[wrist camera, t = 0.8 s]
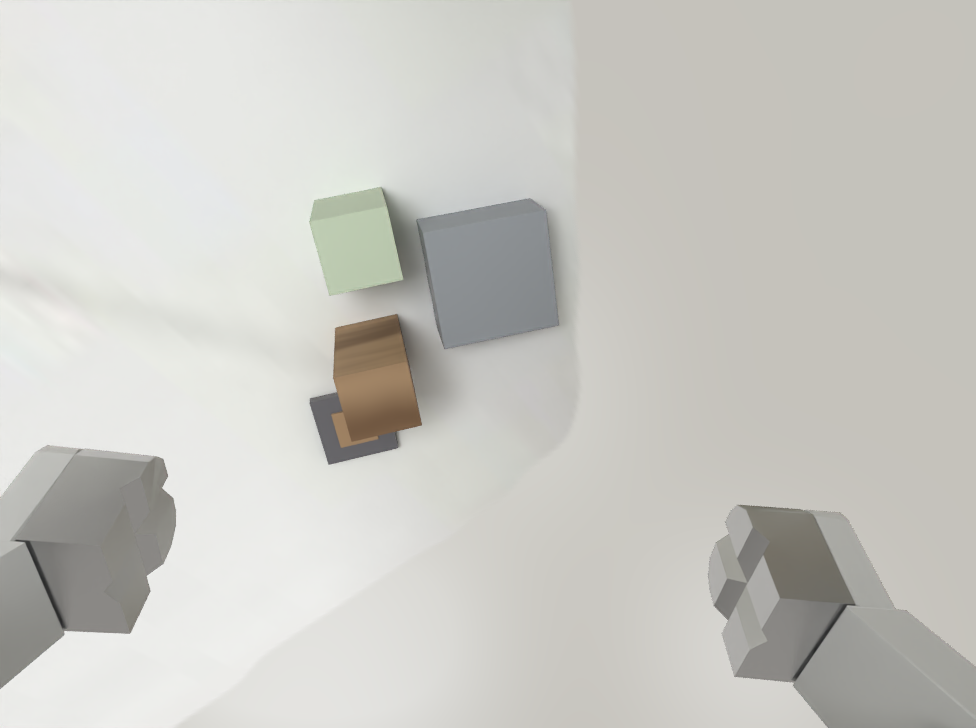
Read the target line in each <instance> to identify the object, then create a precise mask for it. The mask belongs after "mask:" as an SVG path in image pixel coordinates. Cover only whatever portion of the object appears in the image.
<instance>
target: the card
mask: <svg viewBox="0 0 976 728" xmlns="http://www.w3.org/2000/svg"><path fill="white" fill-rule="evenodd" d="M310 406H311V409H312V412H313V415H314V419H315V422H316V425H317V428H318V432H319V435H320V438H321V441H322V444H323V448H324V451H325V454H326V457H327V461H328V464H329V465H330V464H334V463H338V462H342V461H346V460H350V459H355V458H359V457H363V456H367V455H371V454H375V453H379V452H384V451H388V450H392V449H396V448H398V443H397V439H396V435H395V432H392V433H388V434H383V435H379V436H375V437H371V438H367V439H362V440H358V441H354V442H351V438H350V435H349V431H348V428H347V424H346V421H345V417H344V414H343V410H342V407H341V403H340V400H339V396H338V393H333V394H328V395H324V396H320V397H315V398H311V399H310Z"/></svg>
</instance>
